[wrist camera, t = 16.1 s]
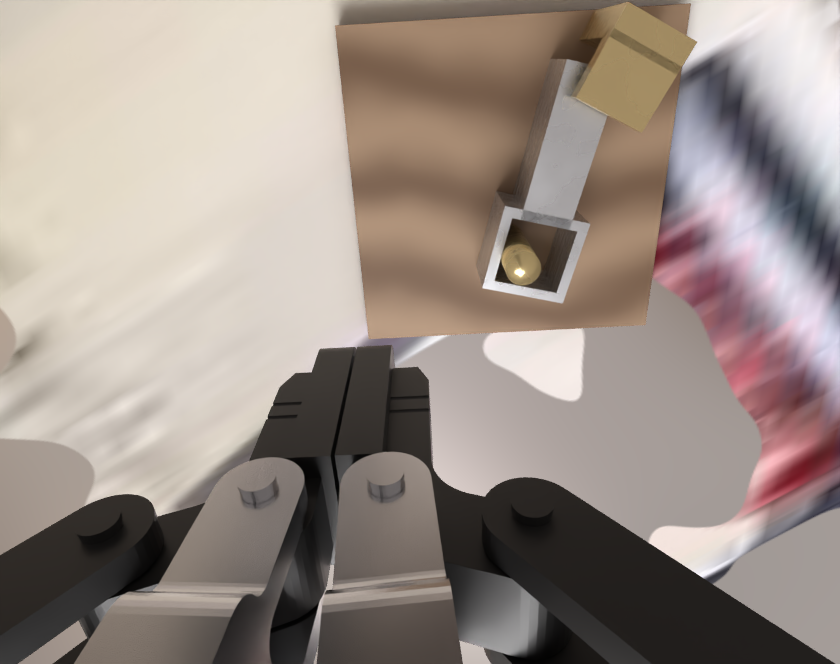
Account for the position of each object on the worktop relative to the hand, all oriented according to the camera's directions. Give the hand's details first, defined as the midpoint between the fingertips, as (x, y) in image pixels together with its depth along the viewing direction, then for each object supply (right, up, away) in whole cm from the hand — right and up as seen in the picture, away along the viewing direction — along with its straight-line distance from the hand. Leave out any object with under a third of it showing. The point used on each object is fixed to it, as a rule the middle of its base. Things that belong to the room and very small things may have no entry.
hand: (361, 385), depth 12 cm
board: (+7, +11, +25) cm, 28 cm away
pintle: (+7, +7, +25) cm, 27 cm away
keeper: (+12, +17, +21) cm, 29 cm away
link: (+9, +11, +23) cm, 27 cm away
